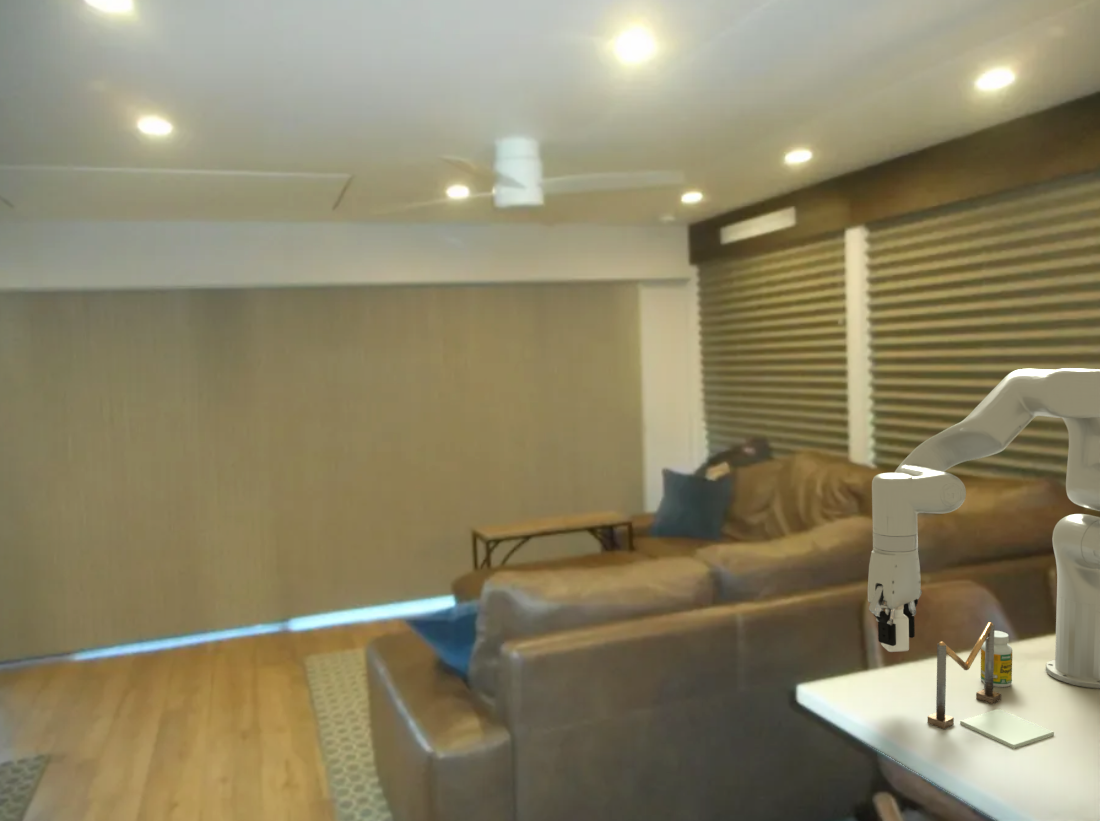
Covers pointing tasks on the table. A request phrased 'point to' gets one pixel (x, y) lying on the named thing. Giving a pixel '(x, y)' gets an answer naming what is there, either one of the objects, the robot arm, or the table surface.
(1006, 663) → the supplement bottle
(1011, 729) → the mat
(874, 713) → the table surface
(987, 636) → the wire hurdle
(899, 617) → the salt shaker
